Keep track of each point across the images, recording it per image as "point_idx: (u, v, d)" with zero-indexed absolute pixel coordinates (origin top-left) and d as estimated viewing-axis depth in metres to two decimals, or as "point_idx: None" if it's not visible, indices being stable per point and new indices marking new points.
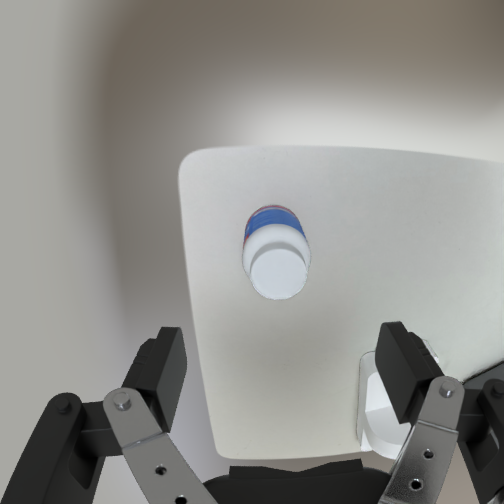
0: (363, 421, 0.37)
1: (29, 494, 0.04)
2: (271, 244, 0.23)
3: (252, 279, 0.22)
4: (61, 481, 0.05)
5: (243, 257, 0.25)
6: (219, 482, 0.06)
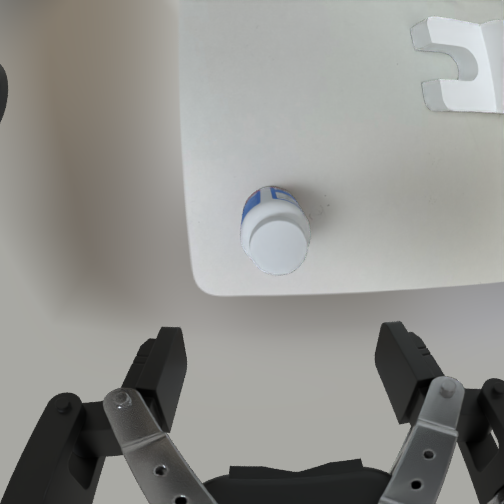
0: None
1: (29, 494, 0.04)
2: None
3: (282, 273, 0.22)
4: (61, 481, 0.05)
5: None
6: (219, 482, 0.06)
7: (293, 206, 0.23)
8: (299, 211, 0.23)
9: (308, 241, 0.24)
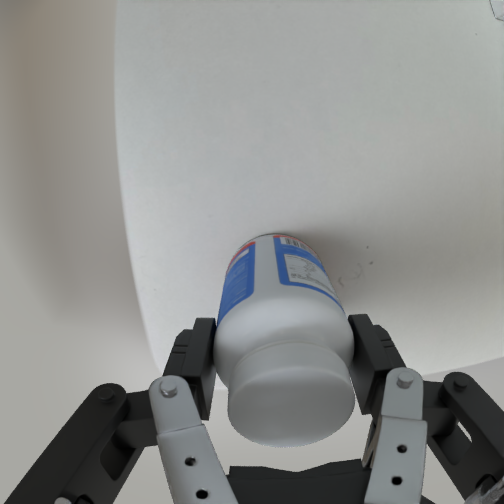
0: None
1: (52, 478, 0.05)
2: None
3: (296, 445, 0.10)
4: (89, 470, 0.06)
5: None
6: None
7: (325, 305, 0.11)
8: (337, 315, 0.11)
9: (349, 367, 0.11)
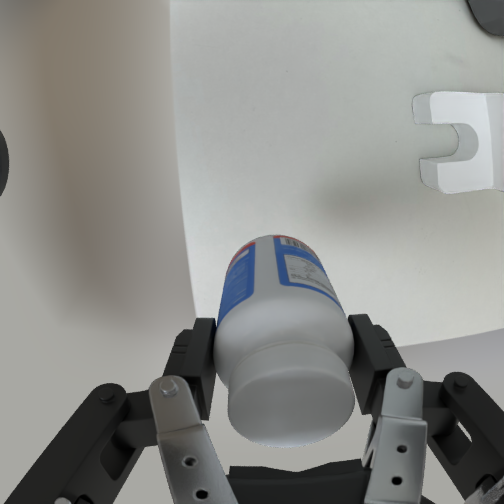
0: None
1: (52, 478, 0.05)
2: None
3: (296, 445, 0.10)
4: (89, 470, 0.06)
5: None
6: None
7: (325, 306, 0.11)
8: (337, 316, 0.11)
9: (349, 367, 0.11)
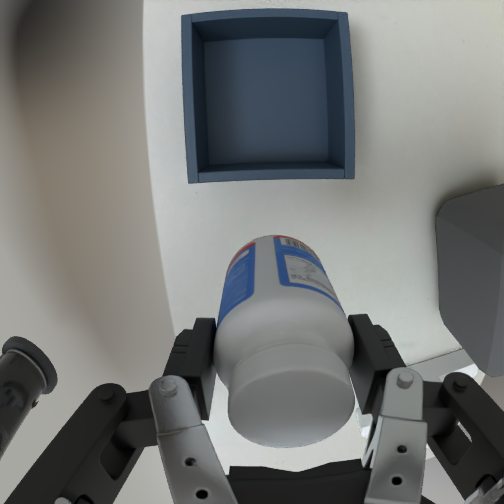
0: None
1: (52, 478, 0.05)
2: None
3: (296, 446, 0.10)
4: (89, 470, 0.06)
5: None
6: None
7: (325, 306, 0.11)
8: (337, 316, 0.11)
9: (349, 368, 0.11)
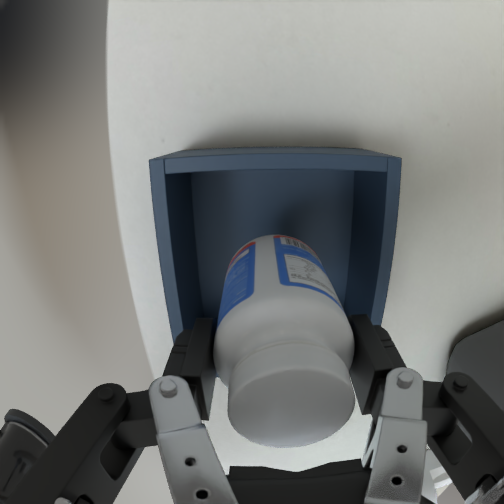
0: None
1: (52, 478, 0.05)
2: None
3: (296, 445, 0.10)
4: (89, 470, 0.06)
5: None
6: None
7: (325, 306, 0.11)
8: (337, 316, 0.11)
9: (349, 367, 0.11)
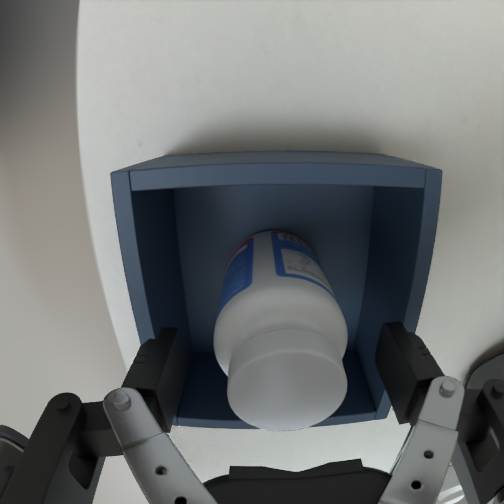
0: None
1: (29, 494, 0.04)
2: None
3: (292, 429, 0.10)
4: (61, 481, 0.05)
5: None
6: (219, 482, 0.06)
7: (318, 295, 0.11)
8: (330, 305, 0.11)
9: (342, 355, 0.12)
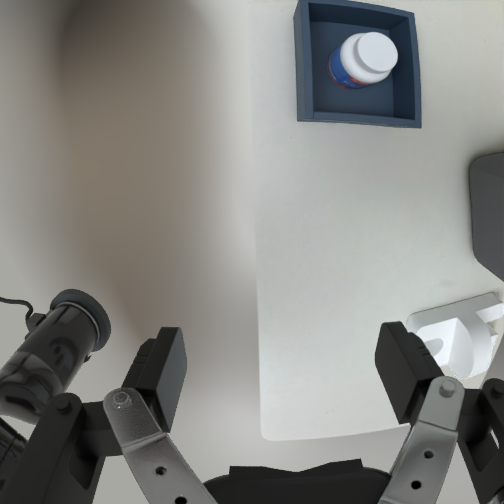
0: None
1: (29, 494, 0.04)
2: (355, 55, 0.24)
3: (382, 70, 0.23)
4: (61, 481, 0.05)
5: (367, 80, 0.26)
6: (219, 482, 0.06)
7: None
8: None
9: None
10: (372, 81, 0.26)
